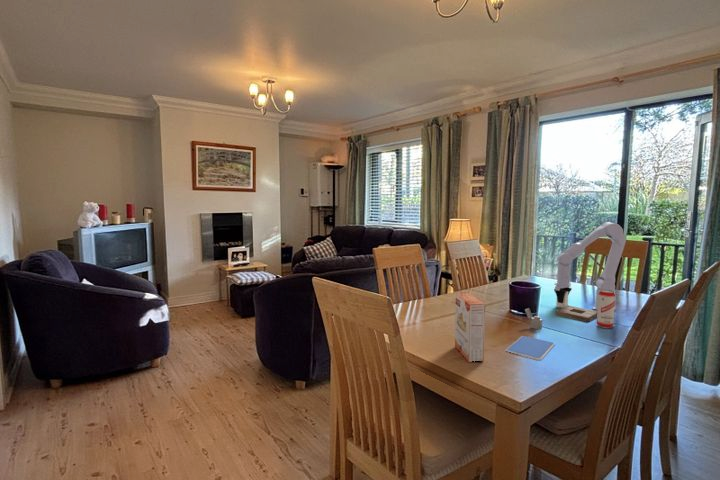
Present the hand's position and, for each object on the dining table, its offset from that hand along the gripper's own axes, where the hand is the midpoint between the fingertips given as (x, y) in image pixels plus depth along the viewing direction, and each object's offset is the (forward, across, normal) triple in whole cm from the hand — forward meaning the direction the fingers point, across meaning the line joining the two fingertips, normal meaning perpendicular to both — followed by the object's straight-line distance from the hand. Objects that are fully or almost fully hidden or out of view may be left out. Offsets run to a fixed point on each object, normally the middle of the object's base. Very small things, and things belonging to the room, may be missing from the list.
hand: (562, 301), depth 195 cm
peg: (+2, 0, 0) cm, 2 cm away
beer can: (+3, +18, +25) cm, 31 cm away
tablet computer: (+3, +66, +15) cm, 68 cm away
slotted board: (+2, +10, +11) cm, 15 cm away
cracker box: (+3, +89, +3) cm, 89 cm away
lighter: (+3, +43, +5) cm, 43 cm away
